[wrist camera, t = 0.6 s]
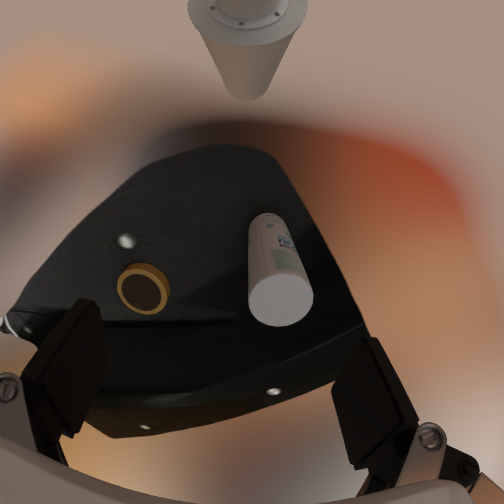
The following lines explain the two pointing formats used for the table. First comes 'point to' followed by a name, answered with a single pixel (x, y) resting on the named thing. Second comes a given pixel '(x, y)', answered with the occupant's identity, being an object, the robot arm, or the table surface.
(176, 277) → the table surface
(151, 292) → the stand
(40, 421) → the robot arm
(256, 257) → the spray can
